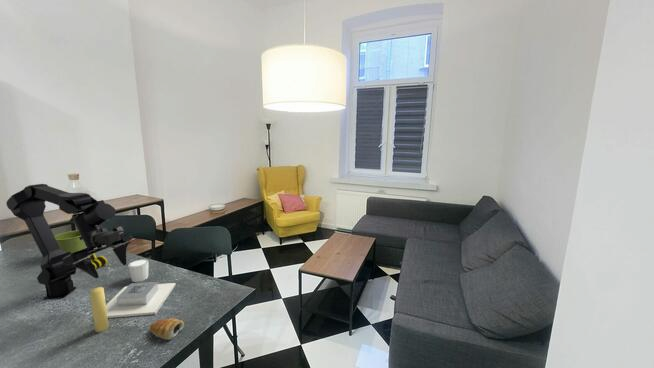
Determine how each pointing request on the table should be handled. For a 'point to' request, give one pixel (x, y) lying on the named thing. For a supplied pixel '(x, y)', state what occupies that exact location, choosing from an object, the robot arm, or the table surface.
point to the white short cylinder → (138, 270)
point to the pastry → (167, 328)
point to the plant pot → (70, 241)
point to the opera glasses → (98, 261)
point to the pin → (99, 309)
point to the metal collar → (137, 294)
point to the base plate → (140, 309)
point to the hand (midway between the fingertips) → (111, 271)
